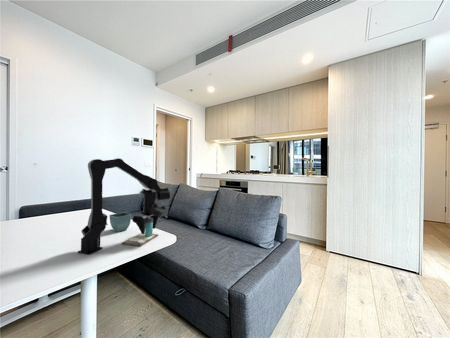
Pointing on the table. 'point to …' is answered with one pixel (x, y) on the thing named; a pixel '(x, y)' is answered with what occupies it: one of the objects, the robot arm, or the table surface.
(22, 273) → the table surface
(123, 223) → the flower pot
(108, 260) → the table surface
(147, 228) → the teal capped bottle
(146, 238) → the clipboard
